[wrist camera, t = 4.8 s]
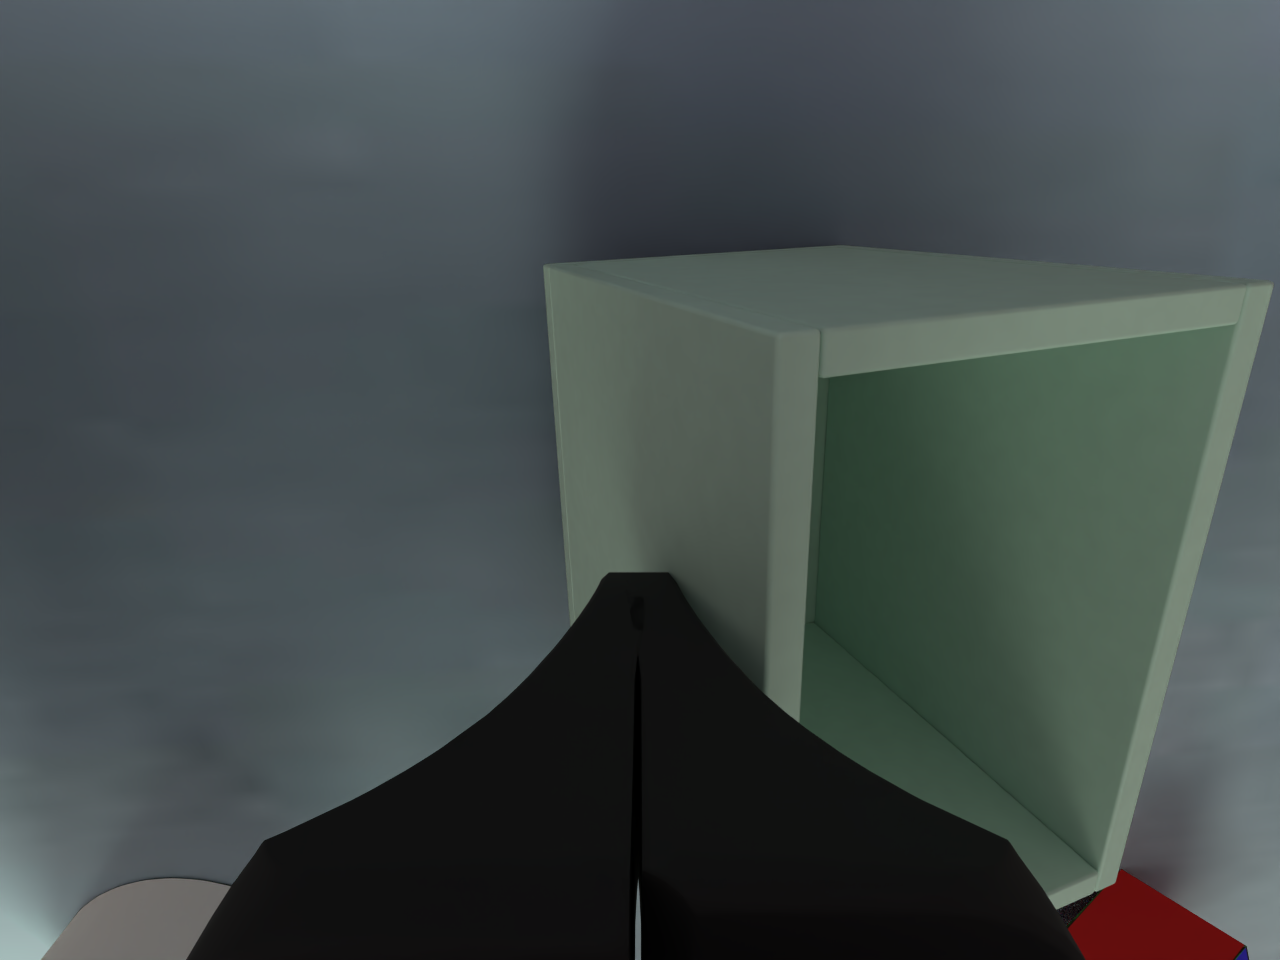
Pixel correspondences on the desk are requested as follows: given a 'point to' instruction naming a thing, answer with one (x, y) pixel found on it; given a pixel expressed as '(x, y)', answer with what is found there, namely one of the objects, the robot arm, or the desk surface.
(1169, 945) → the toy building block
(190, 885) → the cylinder container
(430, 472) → the desk surface
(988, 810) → the bin
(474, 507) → the desk surface
